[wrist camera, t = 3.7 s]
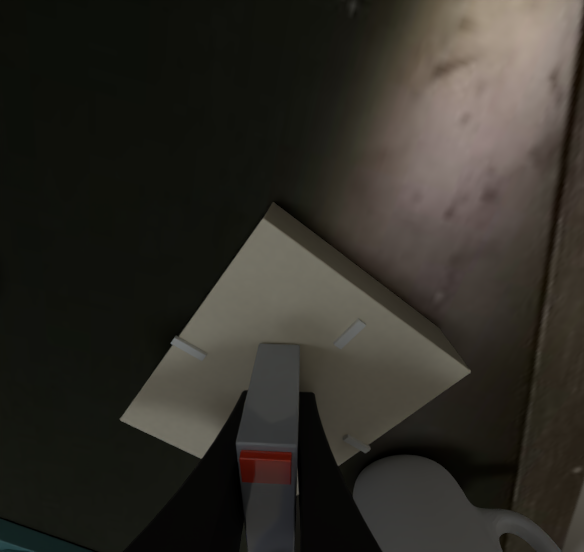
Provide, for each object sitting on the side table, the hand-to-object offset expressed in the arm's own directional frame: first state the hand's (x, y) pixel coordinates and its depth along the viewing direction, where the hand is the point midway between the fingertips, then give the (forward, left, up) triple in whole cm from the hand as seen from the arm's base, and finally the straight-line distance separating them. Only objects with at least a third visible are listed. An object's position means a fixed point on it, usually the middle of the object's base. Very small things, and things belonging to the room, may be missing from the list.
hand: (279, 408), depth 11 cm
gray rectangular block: (0, 0, 0) cm, 0 cm away
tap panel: (0, 0, -3) cm, 3 cm away
